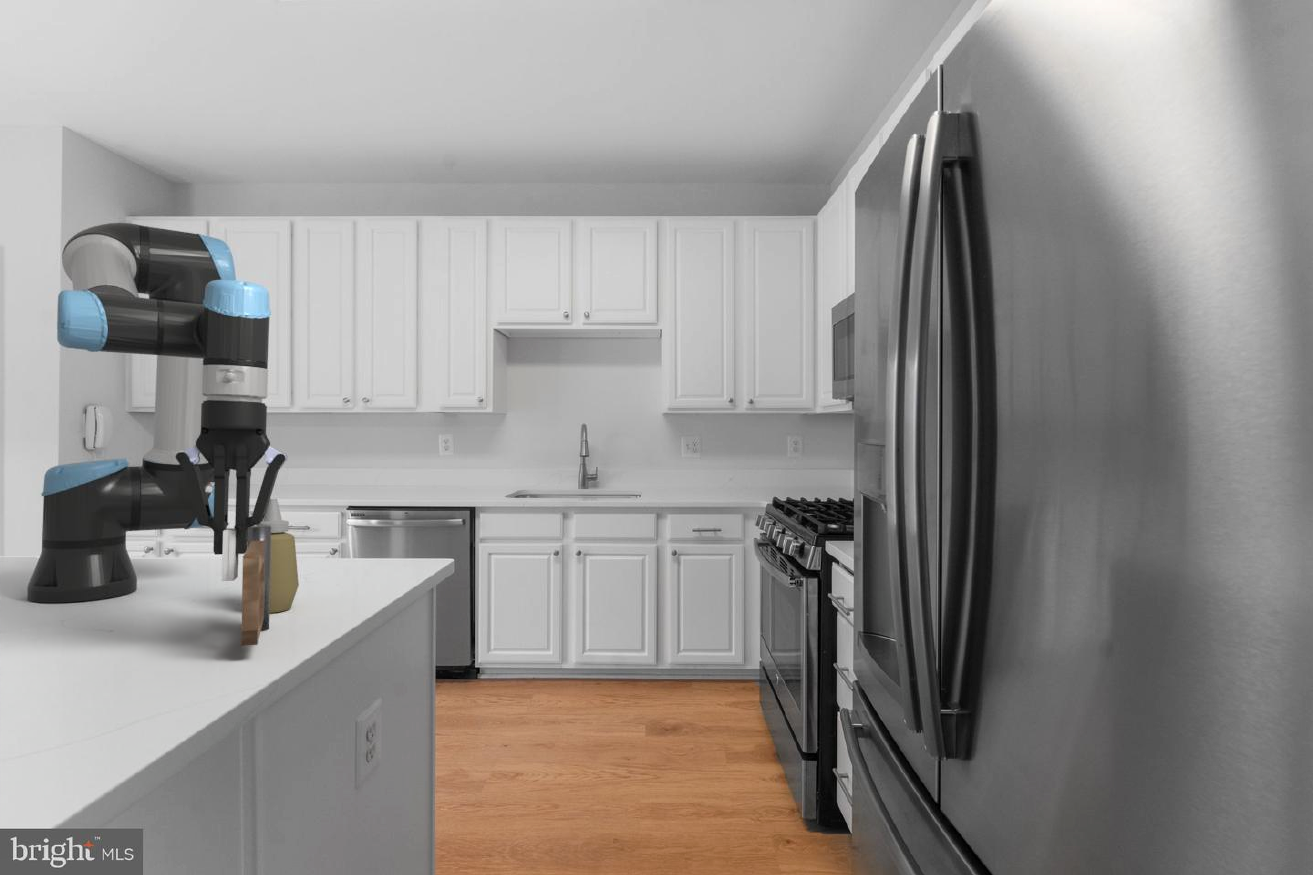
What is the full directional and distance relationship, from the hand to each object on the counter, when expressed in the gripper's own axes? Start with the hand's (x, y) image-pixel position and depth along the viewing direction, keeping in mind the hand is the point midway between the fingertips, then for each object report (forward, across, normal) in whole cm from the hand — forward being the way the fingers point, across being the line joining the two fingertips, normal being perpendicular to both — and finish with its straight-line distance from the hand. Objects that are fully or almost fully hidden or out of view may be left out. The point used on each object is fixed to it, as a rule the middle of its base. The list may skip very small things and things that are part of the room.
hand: (229, 578), depth 98 cm
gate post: (+10, +2, +11) cm, 14 cm away
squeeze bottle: (+10, +2, +23) cm, 25 cm away
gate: (+7, +3, +1) cm, 8 cm away
